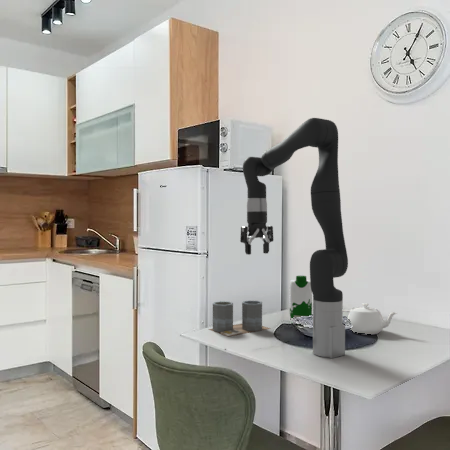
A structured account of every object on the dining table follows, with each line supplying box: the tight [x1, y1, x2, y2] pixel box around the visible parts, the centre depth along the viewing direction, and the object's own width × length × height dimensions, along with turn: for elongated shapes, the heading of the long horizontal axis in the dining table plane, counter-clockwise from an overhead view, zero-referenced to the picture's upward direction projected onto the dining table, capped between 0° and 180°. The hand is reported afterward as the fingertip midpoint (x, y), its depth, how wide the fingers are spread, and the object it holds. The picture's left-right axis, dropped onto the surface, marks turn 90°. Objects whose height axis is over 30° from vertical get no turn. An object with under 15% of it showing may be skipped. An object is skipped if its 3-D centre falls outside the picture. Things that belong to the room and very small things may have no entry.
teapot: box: [343, 302, 398, 335], centre depth 178 cm, size 22×14×11 cm, turn 59°
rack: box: [208, 300, 272, 338], centre depth 178 cm, size 13×20×11 cm, turn 126°
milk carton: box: [289, 275, 313, 319], centre depth 188 cm, size 9×9×20 cm
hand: (257, 253), depth 177 cm, fingers open, 8 cm apart
